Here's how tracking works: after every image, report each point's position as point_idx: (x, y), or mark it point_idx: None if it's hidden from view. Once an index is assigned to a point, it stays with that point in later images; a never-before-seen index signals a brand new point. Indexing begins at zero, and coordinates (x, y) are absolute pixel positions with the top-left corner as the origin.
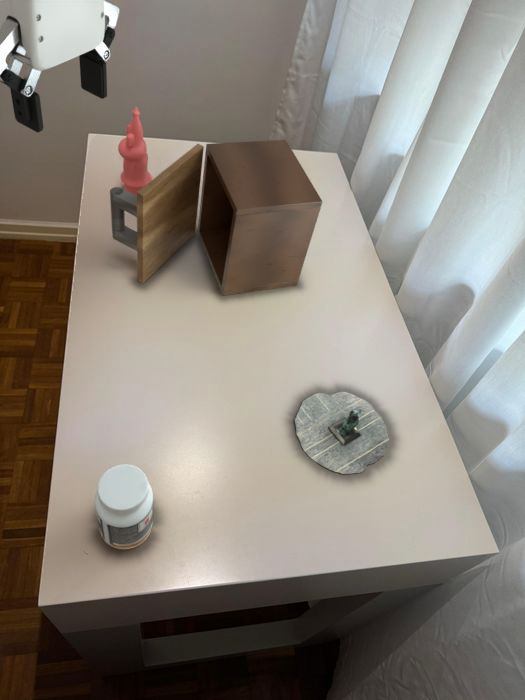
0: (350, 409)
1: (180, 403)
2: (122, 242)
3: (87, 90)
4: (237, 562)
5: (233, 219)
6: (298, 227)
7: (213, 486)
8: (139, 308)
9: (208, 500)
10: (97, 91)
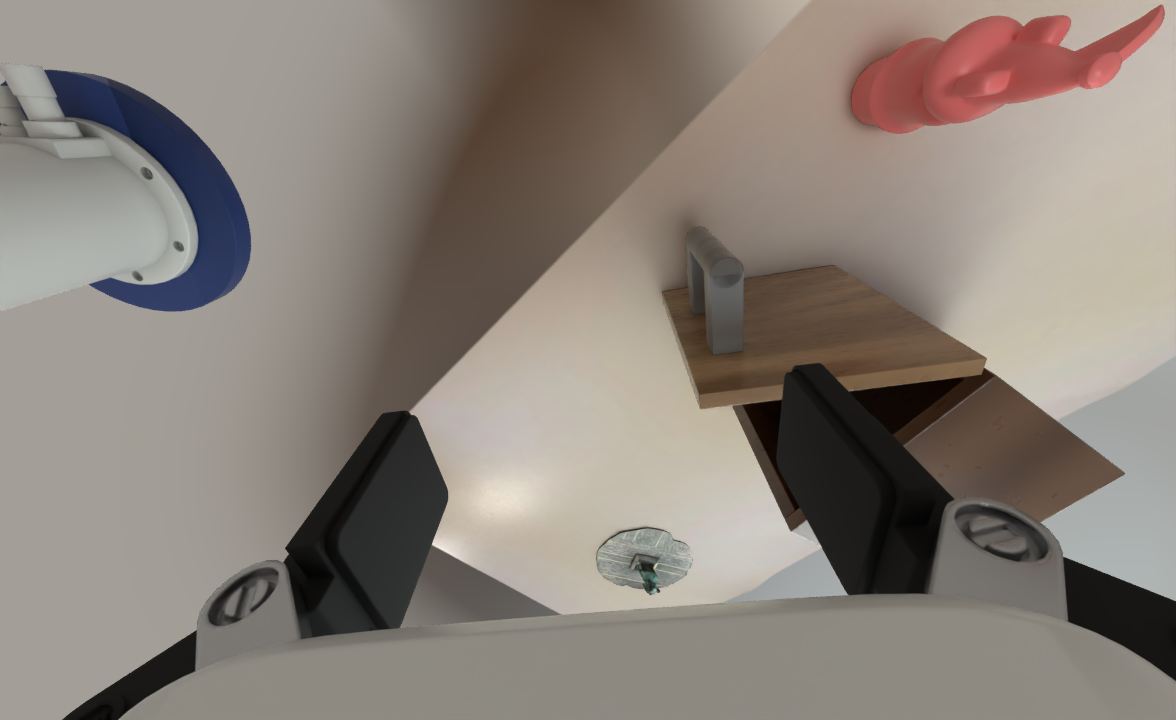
0: (671, 557)
1: (548, 454)
2: (686, 260)
3: (783, 402)
4: (476, 559)
5: (784, 500)
6: None
7: (507, 519)
8: (621, 331)
9: (494, 523)
10: (788, 460)
